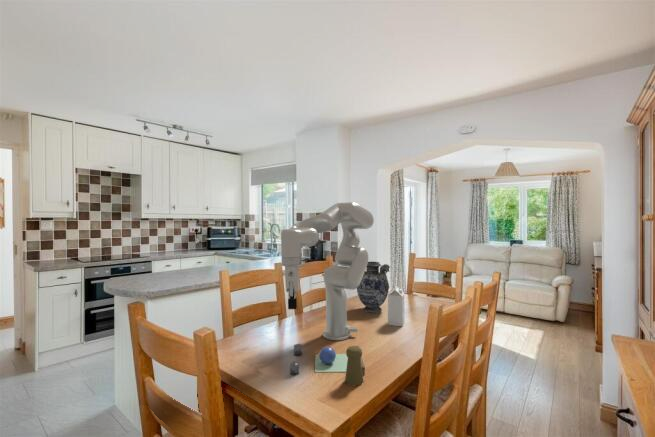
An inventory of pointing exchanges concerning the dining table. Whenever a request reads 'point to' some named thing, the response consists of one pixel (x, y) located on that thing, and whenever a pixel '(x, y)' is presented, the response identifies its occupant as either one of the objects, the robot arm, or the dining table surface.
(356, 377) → the olive knobbed tapered cylinder
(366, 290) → the decorative vase
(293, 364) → the post
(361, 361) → the stopper strip
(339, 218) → the robot arm
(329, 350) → the ball
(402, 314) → the milk carton
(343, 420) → the dining table surface
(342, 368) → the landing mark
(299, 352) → the post
